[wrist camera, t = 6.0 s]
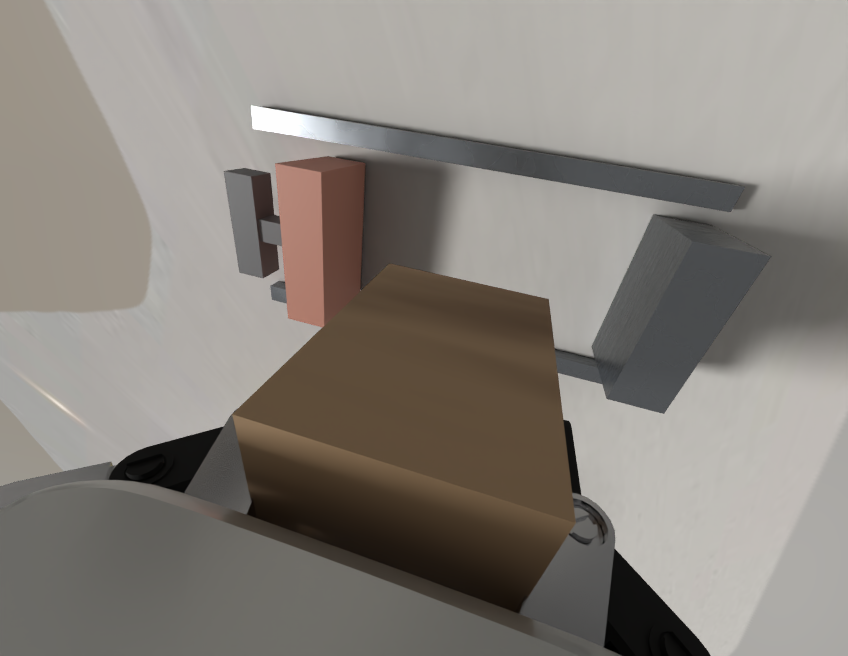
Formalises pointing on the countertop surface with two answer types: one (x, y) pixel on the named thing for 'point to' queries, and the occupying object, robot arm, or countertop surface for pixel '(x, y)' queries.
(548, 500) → the block
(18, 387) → the countertop surface
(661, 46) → the countertop surface
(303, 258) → the block
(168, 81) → the countertop surface
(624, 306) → the vise bed
